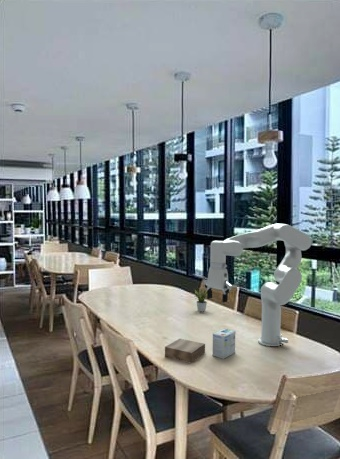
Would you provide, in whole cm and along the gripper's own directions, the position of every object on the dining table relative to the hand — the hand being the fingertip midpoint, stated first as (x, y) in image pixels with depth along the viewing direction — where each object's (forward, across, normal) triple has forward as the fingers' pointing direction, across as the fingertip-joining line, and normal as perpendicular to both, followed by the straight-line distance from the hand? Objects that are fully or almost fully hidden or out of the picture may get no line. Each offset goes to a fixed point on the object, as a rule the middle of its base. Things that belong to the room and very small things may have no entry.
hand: (217, 300), depth 191 cm
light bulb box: (+24, -8, +4) cm, 26 cm away
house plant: (+24, +51, -49) cm, 75 cm away
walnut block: (+25, +4, +18) cm, 31 cm away
